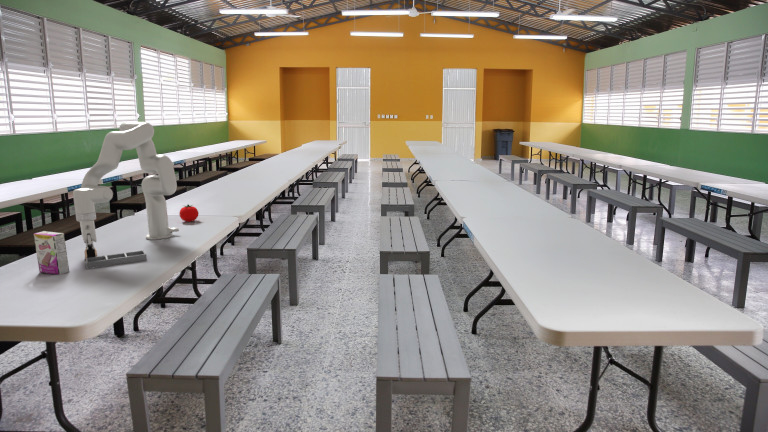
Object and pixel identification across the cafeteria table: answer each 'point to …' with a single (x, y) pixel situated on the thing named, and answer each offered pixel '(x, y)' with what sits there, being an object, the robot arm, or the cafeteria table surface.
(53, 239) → the candy bar box
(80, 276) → the cafeteria table surface
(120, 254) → the tray
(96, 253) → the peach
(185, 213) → the tomato
